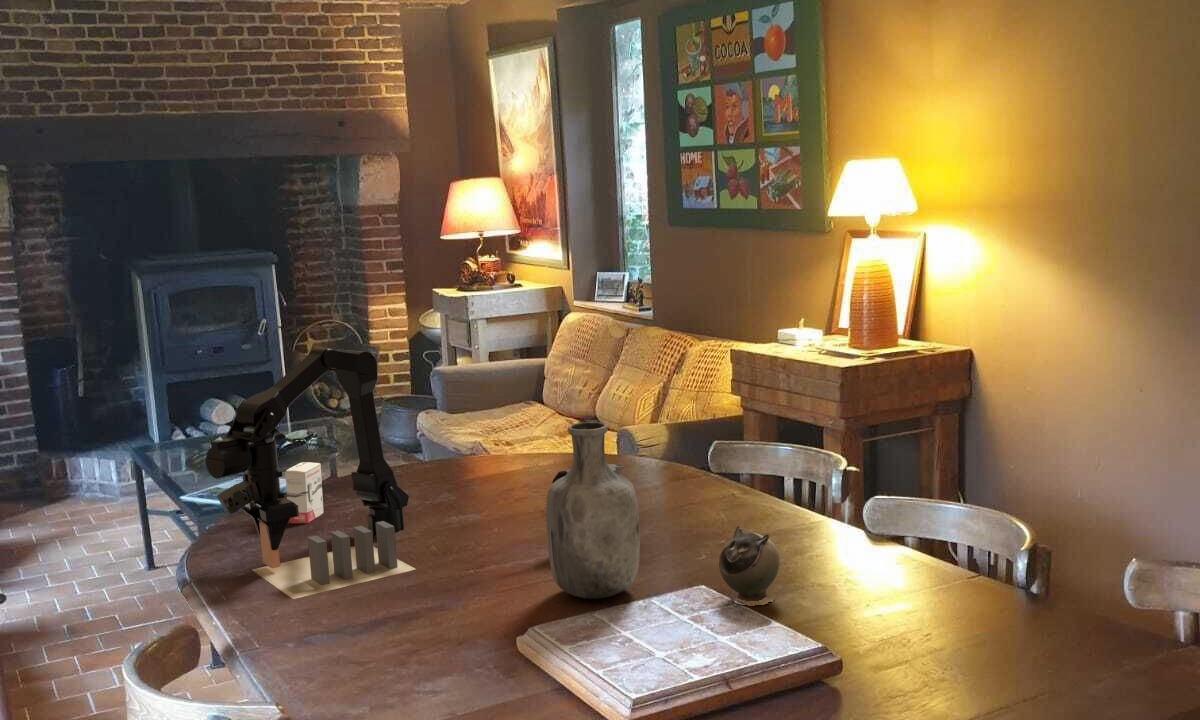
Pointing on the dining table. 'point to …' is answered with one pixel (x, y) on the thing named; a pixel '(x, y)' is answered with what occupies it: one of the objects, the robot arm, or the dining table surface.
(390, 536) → the domino
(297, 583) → the domino board
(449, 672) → the dining table surface
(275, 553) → the end tile
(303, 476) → the ink box
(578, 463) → the vase
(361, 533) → the domino
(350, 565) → the domino
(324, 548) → the domino
